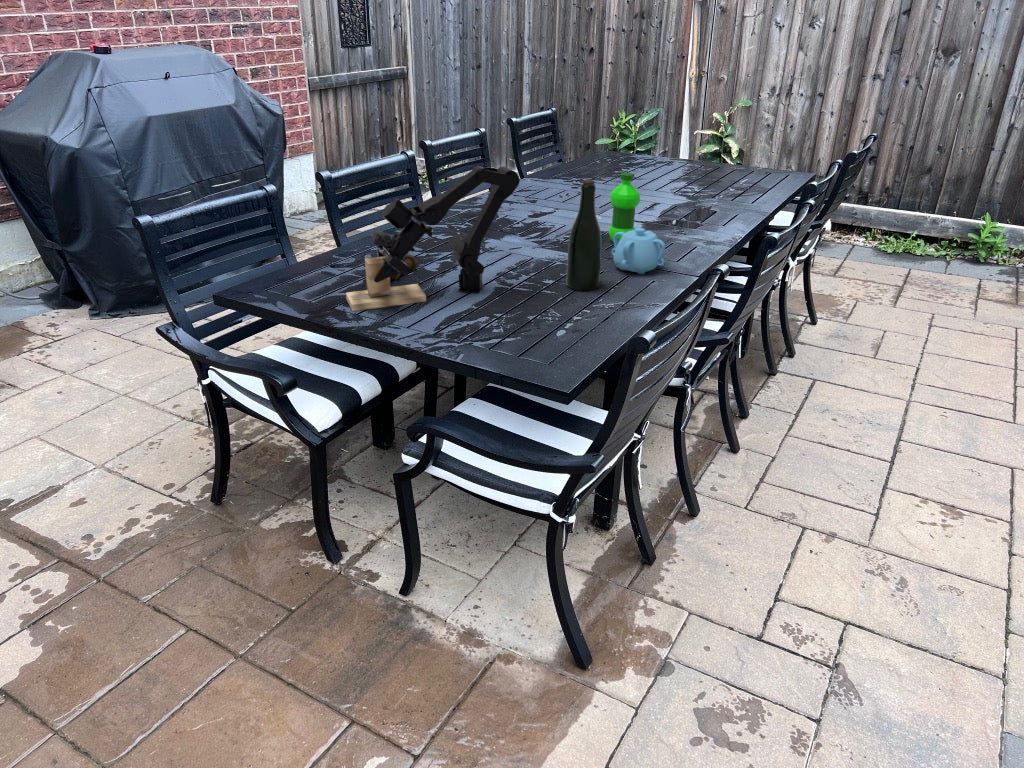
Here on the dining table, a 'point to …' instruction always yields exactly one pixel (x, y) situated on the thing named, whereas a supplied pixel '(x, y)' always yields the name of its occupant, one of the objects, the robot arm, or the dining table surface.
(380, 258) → the block
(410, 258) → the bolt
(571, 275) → the beer bottle
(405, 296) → the plank
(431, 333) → the dining table surface
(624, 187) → the plastic bottle
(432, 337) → the dining table surface
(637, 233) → the decorative pot
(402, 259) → the robot arm
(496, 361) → the dining table surface
